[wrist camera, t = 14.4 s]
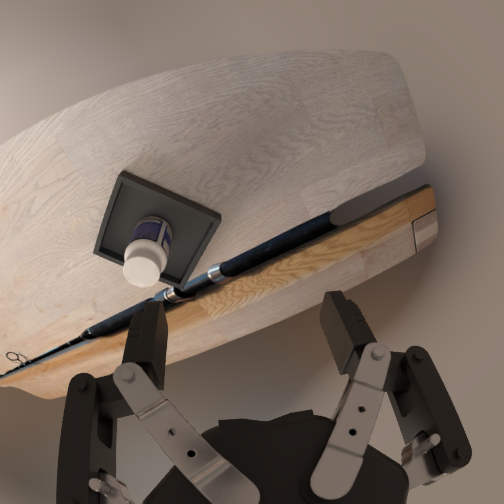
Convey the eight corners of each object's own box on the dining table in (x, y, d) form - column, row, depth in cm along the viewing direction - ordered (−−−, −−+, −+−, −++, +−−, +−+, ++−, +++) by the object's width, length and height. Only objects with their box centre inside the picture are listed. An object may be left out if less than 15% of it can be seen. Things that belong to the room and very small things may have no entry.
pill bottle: (128, 235, 41) (110, 275, 32) (149, 207, 39) (133, 243, 30) (158, 255, 43) (148, 298, 35) (180, 230, 41) (173, 270, 33)
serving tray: (97, 246, 41) (92, 253, 40) (122, 170, 36) (118, 174, 34) (183, 282, 47) (182, 290, 45) (221, 214, 42) (221, 221, 40)
